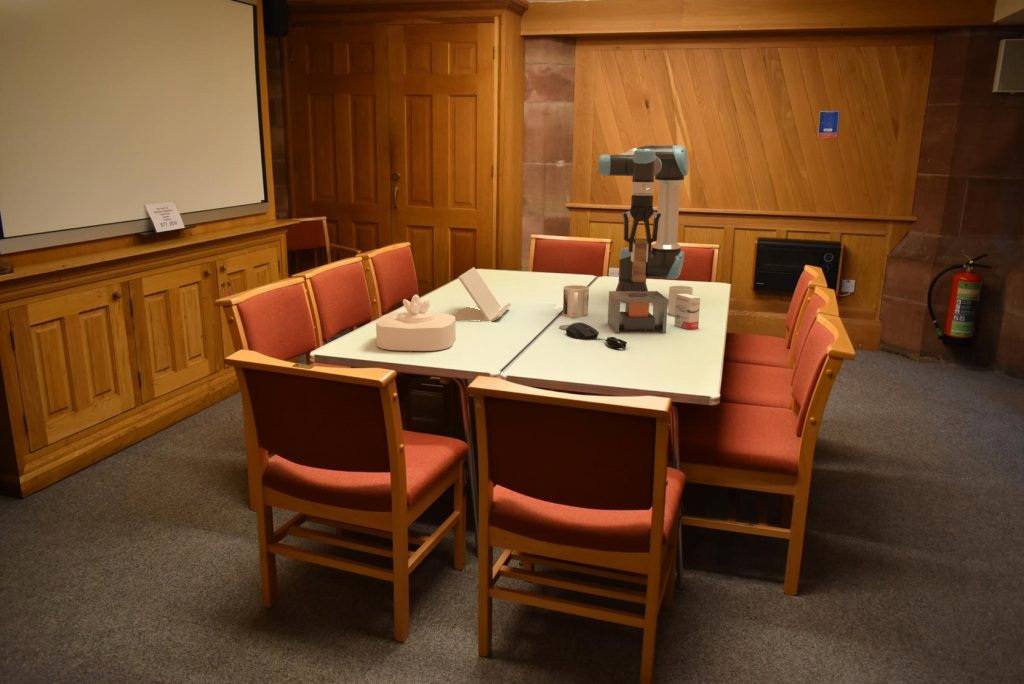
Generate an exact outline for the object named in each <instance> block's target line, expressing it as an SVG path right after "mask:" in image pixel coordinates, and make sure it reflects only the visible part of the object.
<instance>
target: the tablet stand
mask: <svg viewBox="0 0 1024 684" xmlns="http://www.w3.org/2000/svg"><path fill="white" fill-rule="evenodd" d="M458 280H459V282H460V283H461V284H462V285H463V287H464V288H465V290H466V291H467V293H468V294H469V296H470V297H471V298H472V300H473V301H474V303H475V305H476V307H478V308H479V309H480V310H478V309H475V308H470V307H465V308H464V309H463V310H461V311H460V312H459V313H458V314H456V315H455V321H460V320H480V321H479V322H482V321H493V322H494V321H495V320H498V319H499V318H500V317H502V316H503V314H504V313H505V312H506V311H507V310H508V309H509V308H510V307H511V306H512V304H511V303H510V302H508V303H507V304H505V305H504V306H503V308H502V309H501V310H500V311H499V309H500V308H501V307H502V306H501V305H500V303H499V302H498V301H497V299H496V297H495V296H494V294H493V293H492V291H491V290H490V289H489V286H487V283H486V282H485V281H484V279H483V278H482V277H481V275H480V273H479V272H478V271H477V269H476V268H475V267H472V268H470V269H468V270H467V271H465V272H464V273H461V274H460V275H459V276H458Z"/></svg>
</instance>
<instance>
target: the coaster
mask: <svg viewBox="0 0 1024 684" xmlns="http://www.w3.org/2000/svg"><path fill="white" fill-rule="evenodd" d="M570 325H571V324H562V325H559V326H558V328H559V330H562V331H566V328H567V327H568V326H570Z"/></svg>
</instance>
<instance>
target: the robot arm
mask: <svg viewBox="0 0 1024 684" xmlns="http://www.w3.org/2000/svg"><path fill="white" fill-rule="evenodd" d="M689 165H690V162H689V155H688V150H687V148H686V147H685V146H683V145H673V144H672V145H666V144H665V145H643V146H638V147H634V148H630V149H628V150H627V151H625V152H621V153H617V154H610V153H608V154H601V155H600V156H599V158H598V165H597V167H598V168H597V169H598V173H599V175H601V176H607V177H613V176H614V177H632V179H631V194H632V195H631V197H630V198H631V199H630V202H631V203H630V208H629V210H628V211H626V212H622V214H621V215H622V217H623V240H624V241H625V242H628V247H623V248H621V250H620V252H619V258H618V263H619V265H618V283H617V284H616V288H615V291H649V290H648V289H649V288H648V286H647V278H655V279H656V278H657V279H667V280H668V279H671V280H673V279H677V278H679V277H680V275H681V273H682V270H683V269H682V268H683V265H684V261H685V251H683V250H681V248H682V247H681V245H680V244H679V242H678V231H679V212H680V194H681V192H680V191H681V190H680V187H681V184H682V182H684V181H685V177H686V176H688V175H689V172H690V171H689V170H690V169H689V168H690V166H689ZM655 182H656V183H657V184H658V190H657V192H658V193H657V212H656V211H655V210H654V195H652V194H654V186H655V184H654V183H655ZM630 215H631V217H632V218H633V220H632V224H631V225H632V226H631V230H630V233H629V222H630V221H629V219H630ZM651 217H652V218H653V225H652V235H651V229H650V227H651V226H650V218H651ZM639 222H643V225H644V231H645V236H646V237H645V239H647V253H646V272H645V282H633V281H632V262H634V259H635V243H633V241H634V239H635V236H636V232H637V229H638V225H639ZM654 242H655V243H654ZM653 243H654V244H653ZM630 297H646V296H630ZM622 304H626V302H622Z"/></svg>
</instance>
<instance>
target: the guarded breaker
mask: <svg viewBox="0 0 1024 684" xmlns="http://www.w3.org/2000/svg"><path fill="white" fill-rule="evenodd" d="M630 296H646V297H630ZM623 302H649V303H653V305H652V313H651V312H649V315H648V317H628V316H627V315H626V314H625V311H621V303H623ZM607 304H608V305H607V309H608V310H607V325H609V327H610V328H611V330H612V331H613V332H614V334H620V329H621V330H622V331H623V332H629V333H631V332H655V331H656V330H655V328H656V329H658V330H659V332H660V333H662V334H666V333H667V321H668V320H667V319H668V304H669V298H667V297H666V296H665V295H663V294H661V293H660V292H659V291H657V290H655V291H654V290H653V291H652V290H648V291H616V290H609V291H608V303H607Z"/></svg>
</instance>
